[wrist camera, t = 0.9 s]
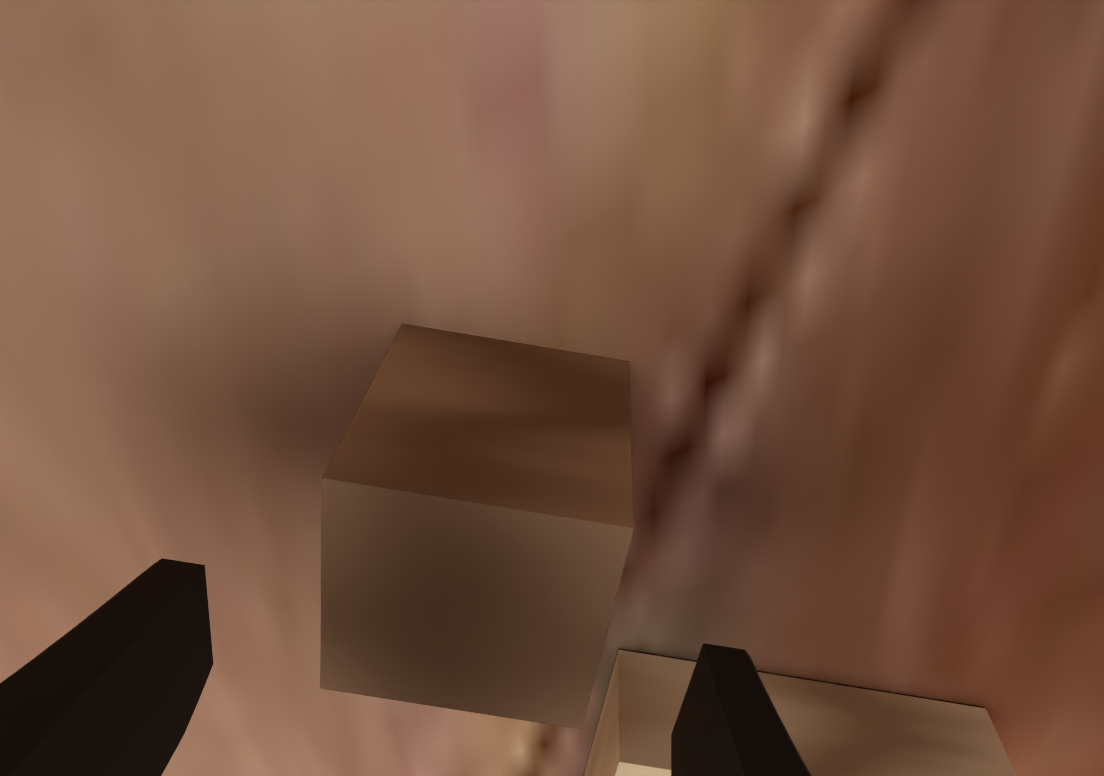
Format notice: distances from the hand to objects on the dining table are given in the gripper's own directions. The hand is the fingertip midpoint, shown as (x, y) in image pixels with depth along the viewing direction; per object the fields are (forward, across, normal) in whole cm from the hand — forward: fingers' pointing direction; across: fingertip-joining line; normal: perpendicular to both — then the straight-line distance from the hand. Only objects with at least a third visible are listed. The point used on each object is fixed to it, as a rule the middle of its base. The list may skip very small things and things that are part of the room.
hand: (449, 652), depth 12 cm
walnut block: (+6, 0, 0) cm, 6 cm away
